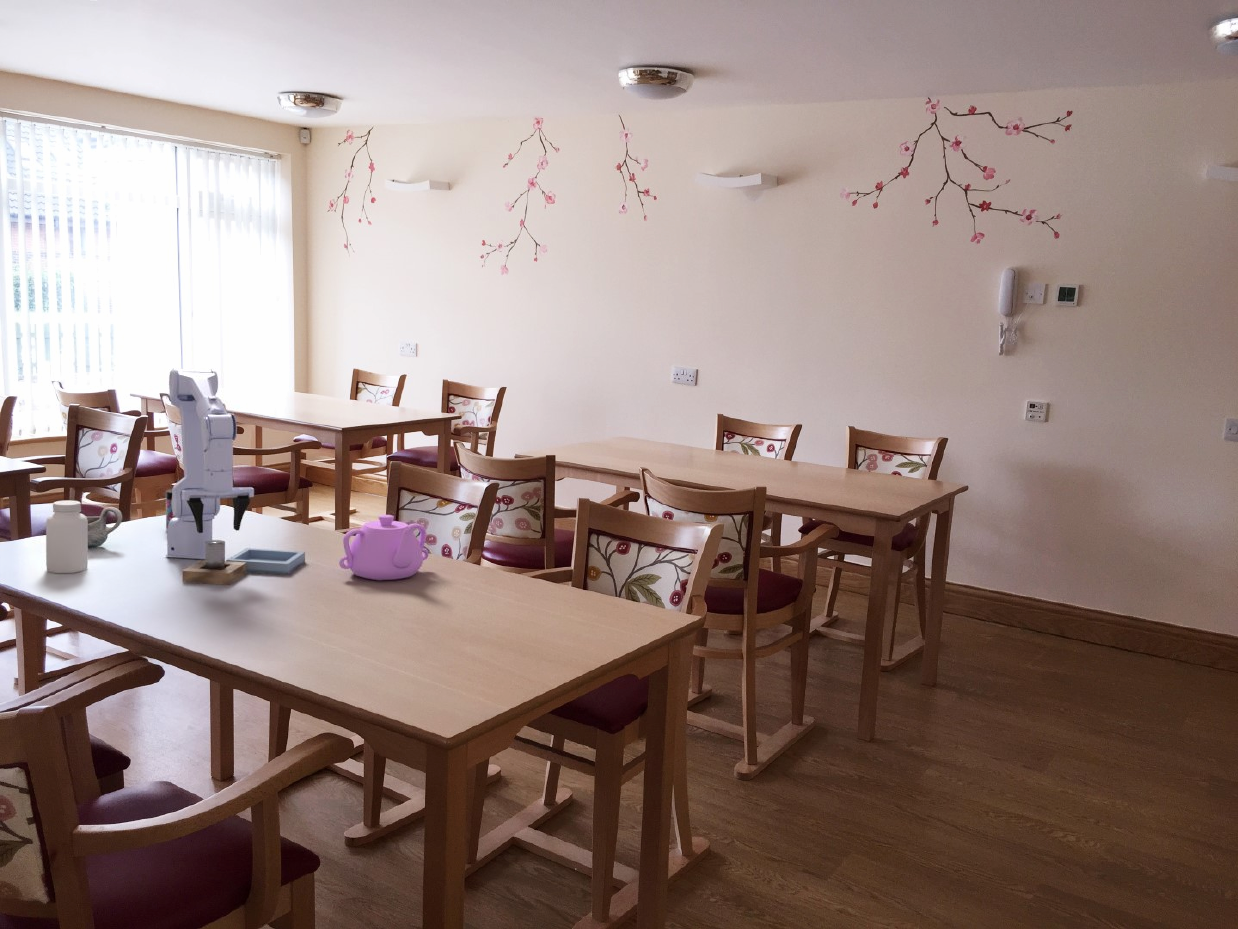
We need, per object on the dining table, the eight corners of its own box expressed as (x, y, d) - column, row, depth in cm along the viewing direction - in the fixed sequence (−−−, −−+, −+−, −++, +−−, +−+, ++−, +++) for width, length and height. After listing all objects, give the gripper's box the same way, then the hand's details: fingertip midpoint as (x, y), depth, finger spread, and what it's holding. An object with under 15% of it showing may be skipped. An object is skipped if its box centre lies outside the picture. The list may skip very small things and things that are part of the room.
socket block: (182, 582, 215) (182, 570, 215) (202, 570, 225) (202, 559, 225) (228, 584, 215) (228, 573, 215) (246, 573, 225) (246, 562, 225)
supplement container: (172, 526, 266) (172, 487, 265) (198, 528, 266) (198, 489, 265) (161, 531, 260) (161, 492, 258) (187, 533, 260) (187, 493, 258)
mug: (64, 544, 241) (64, 503, 239) (123, 542, 246) (122, 502, 245) (61, 553, 232) (61, 511, 231) (122, 551, 238) (121, 510, 236)
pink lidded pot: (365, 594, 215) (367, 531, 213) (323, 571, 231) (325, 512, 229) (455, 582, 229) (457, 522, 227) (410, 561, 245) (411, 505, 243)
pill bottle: (86, 573, 217) (85, 505, 215) (43, 575, 214) (42, 506, 212) (90, 564, 225) (89, 498, 222) (49, 565, 222) (48, 499, 219)
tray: (226, 570, 226) (226, 560, 226) (246, 558, 238) (246, 548, 238) (287, 574, 226) (288, 563, 226) (304, 562, 238) (305, 551, 238)
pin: (202, 579, 218) (202, 543, 217) (209, 574, 222) (209, 539, 221) (220, 580, 218) (220, 544, 217) (227, 576, 222) (228, 540, 221)
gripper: (187, 473, 210) (187, 537, 212) (258, 471, 218) (257, 532, 220) (179, 468, 216) (179, 530, 217) (248, 466, 224) (248, 525, 226)
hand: (218, 530), depth 219 cm, fingers open, 7 cm apart
